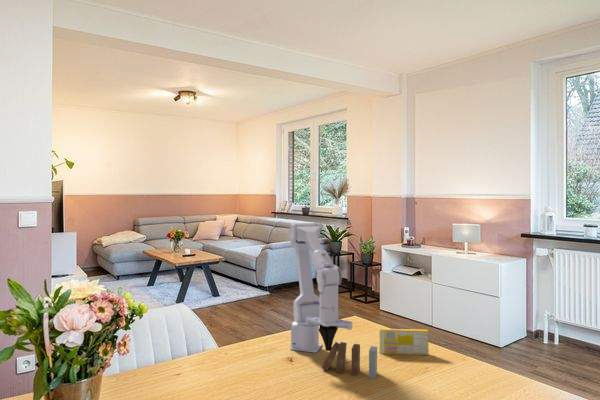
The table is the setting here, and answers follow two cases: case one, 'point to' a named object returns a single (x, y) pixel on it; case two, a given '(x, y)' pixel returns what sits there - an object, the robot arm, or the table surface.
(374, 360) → the domino
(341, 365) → the domino
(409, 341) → the candy box
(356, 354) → the domino
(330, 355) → the domino
